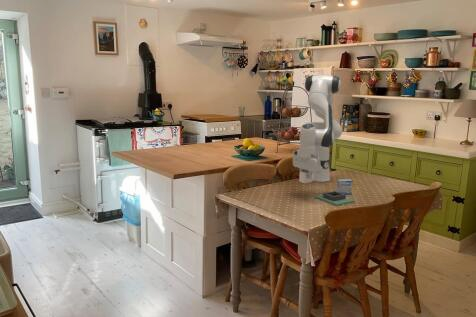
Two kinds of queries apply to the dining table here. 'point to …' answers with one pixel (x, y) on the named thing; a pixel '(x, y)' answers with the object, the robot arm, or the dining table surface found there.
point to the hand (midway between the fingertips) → (305, 177)
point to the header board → (334, 198)
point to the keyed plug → (304, 176)
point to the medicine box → (344, 186)
